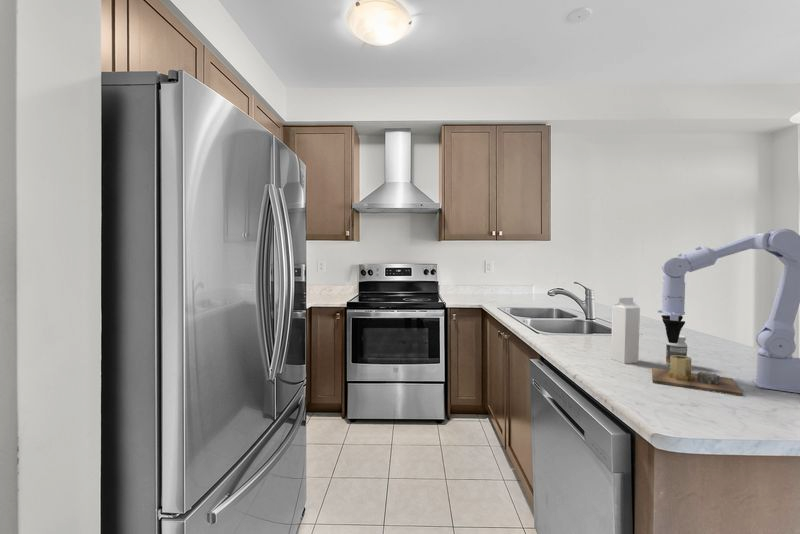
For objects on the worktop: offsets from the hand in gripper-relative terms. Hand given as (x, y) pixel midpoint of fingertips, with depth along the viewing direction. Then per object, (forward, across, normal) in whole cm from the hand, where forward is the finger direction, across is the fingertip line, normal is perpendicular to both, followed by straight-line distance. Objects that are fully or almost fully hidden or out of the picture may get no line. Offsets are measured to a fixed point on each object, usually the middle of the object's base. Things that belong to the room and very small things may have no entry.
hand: (672, 340), depth 125 cm
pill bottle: (+11, -12, +2) cm, 16 cm away
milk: (+11, -9, -13) cm, 19 cm away
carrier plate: (+10, +6, +5) cm, 13 cm away
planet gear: (+10, +6, +2) cm, 11 cm away
